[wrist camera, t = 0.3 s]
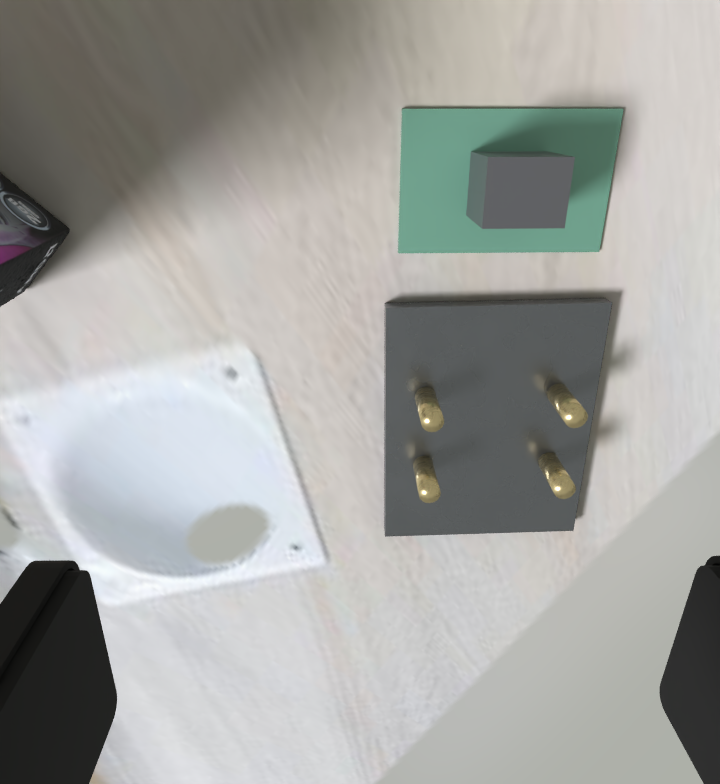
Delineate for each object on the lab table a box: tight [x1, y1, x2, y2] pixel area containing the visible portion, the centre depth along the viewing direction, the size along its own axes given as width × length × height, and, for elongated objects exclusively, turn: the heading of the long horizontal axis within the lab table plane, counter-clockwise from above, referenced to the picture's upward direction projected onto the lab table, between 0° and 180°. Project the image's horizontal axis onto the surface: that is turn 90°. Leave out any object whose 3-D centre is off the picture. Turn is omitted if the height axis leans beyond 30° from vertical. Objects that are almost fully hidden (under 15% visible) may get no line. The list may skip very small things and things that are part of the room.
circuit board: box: [398, 109, 623, 253], centre depth 37 cm, size 14×9×6 cm, turn 90°
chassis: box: [384, 298, 612, 536], centre depth 45 cm, size 20×16×5 cm
